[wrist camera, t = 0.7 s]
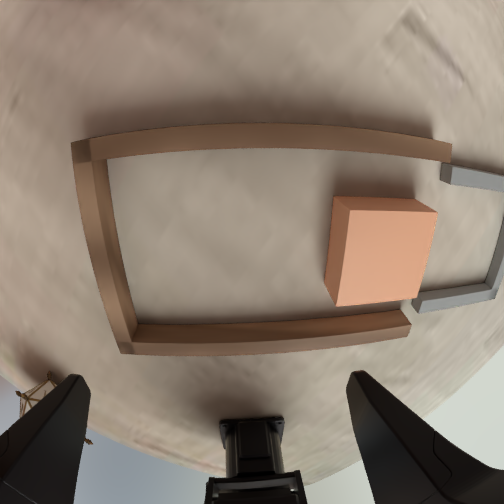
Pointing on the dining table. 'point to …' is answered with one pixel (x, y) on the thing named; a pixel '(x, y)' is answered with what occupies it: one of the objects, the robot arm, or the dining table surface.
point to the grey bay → (500, 263)
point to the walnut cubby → (240, 334)
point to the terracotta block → (377, 249)
